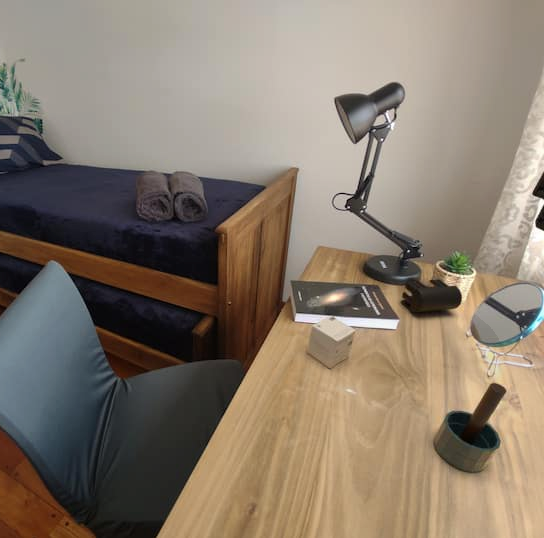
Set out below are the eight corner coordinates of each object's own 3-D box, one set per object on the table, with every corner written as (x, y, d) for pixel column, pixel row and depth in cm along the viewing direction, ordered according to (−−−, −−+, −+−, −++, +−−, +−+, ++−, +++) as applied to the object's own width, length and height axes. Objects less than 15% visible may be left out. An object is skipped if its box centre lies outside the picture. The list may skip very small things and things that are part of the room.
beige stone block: (329, 369, 72) (337, 341, 68) (305, 352, 76) (311, 324, 72) (348, 357, 74) (356, 329, 71) (324, 341, 79) (330, 314, 75)
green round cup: (464, 432, 59) (477, 410, 56) (496, 472, 53) (512, 450, 51) (423, 433, 59) (435, 411, 56) (451, 473, 53) (465, 451, 50)
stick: (462, 442, 57) (500, 380, 50) (473, 457, 55) (514, 394, 48) (447, 443, 57) (483, 381, 50) (457, 457, 55) (496, 395, 48)
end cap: (416, 319, 85) (425, 295, 81) (398, 302, 91) (405, 279, 87) (455, 316, 86) (466, 292, 82) (434, 299, 92) (444, 276, 88)
